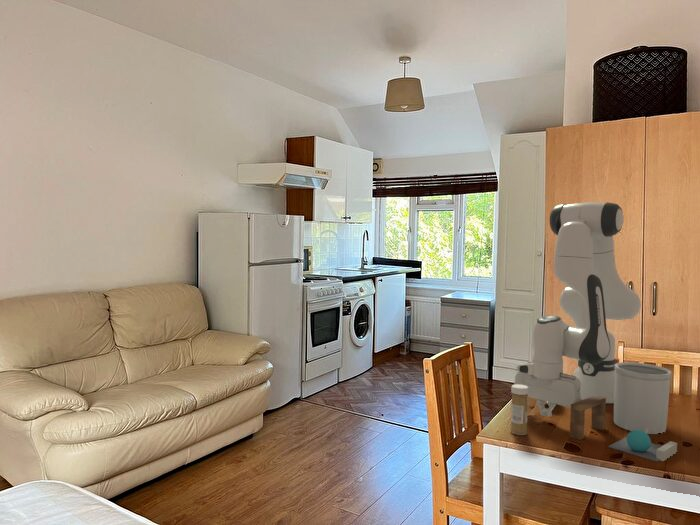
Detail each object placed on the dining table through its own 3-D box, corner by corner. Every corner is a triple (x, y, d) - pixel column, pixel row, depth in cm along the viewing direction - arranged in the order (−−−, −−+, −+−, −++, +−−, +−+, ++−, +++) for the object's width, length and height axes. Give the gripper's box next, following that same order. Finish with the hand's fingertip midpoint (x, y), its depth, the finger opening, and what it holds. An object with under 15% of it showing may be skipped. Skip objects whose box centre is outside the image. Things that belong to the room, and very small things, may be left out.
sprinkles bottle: (530, 434, 149) (531, 386, 149) (519, 437, 147) (521, 389, 146) (517, 429, 153) (518, 382, 153) (506, 432, 151) (508, 385, 150)
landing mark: (627, 436, 148) (628, 436, 148) (675, 450, 139) (675, 449, 139) (608, 446, 141) (608, 446, 141) (657, 461, 131) (657, 461, 131)
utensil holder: (674, 426, 158) (676, 367, 157) (662, 439, 147) (665, 376, 146) (620, 414, 168) (622, 359, 167) (606, 426, 157) (608, 367, 156)
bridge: (569, 436, 148) (570, 404, 147) (594, 425, 157) (595, 395, 156) (580, 440, 145) (581, 406, 145) (604, 428, 155) (605, 397, 154)
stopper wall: (670, 450, 139) (670, 441, 139) (676, 452, 138) (677, 443, 137) (656, 459, 133) (656, 449, 133) (663, 461, 132) (663, 451, 132)
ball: (655, 450, 137) (633, 447, 142) (653, 429, 138) (631, 426, 142) (646, 455, 134) (624, 452, 138) (643, 433, 134) (621, 430, 139)
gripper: (585, 375, 154) (584, 422, 155) (523, 362, 170) (522, 405, 171) (575, 378, 150) (573, 426, 151) (512, 365, 166) (510, 408, 167)
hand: (545, 415), depth 161 cm, fingers closed
